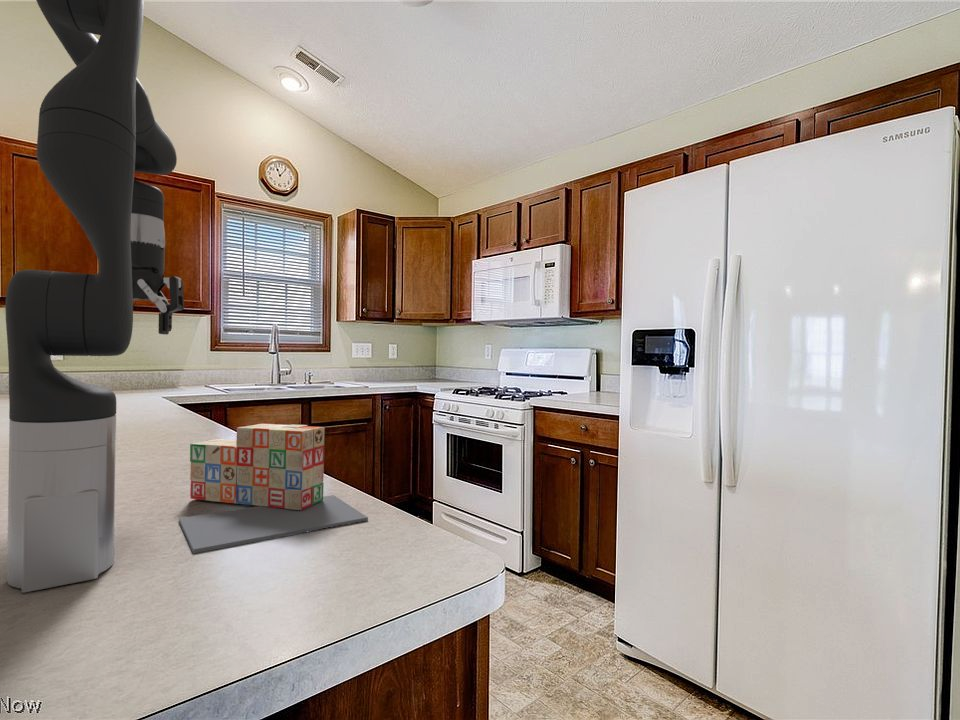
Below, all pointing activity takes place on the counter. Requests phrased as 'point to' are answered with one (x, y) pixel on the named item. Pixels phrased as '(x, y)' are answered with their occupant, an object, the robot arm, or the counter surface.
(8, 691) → the counter surface
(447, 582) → the counter surface
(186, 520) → the mat
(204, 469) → the stack of blocks
